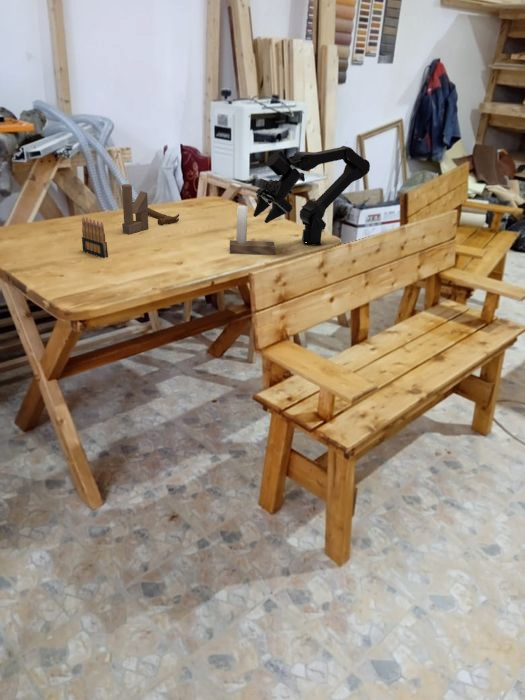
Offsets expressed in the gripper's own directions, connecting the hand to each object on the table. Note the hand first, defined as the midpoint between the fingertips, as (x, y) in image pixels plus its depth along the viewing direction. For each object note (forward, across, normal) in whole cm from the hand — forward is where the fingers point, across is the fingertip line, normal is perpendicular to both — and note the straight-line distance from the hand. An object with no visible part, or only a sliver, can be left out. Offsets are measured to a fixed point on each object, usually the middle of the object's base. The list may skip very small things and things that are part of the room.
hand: (259, 219), depth 202 cm
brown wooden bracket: (+31, -33, -22) cm, 51 cm away
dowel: (+11, +1, -1) cm, 11 cm away
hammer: (+23, -54, -12) cm, 60 cm away
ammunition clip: (+44, -10, -38) cm, 59 cm away
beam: (+11, +2, +4) cm, 12 cm away
